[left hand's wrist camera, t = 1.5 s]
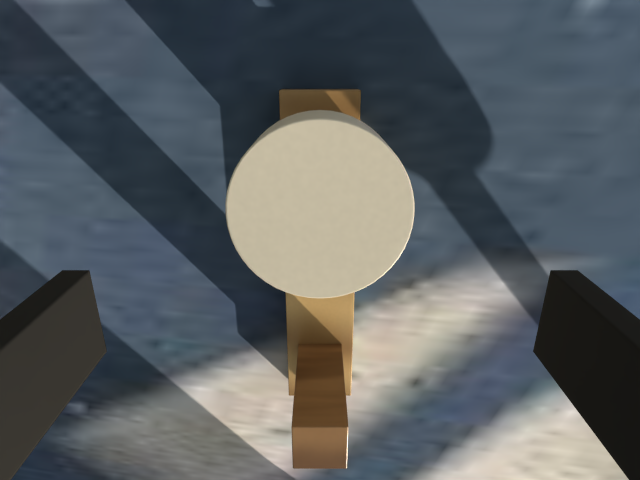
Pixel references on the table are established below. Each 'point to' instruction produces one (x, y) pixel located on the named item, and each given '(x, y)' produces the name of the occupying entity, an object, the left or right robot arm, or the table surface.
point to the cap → (319, 205)
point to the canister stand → (319, 333)
